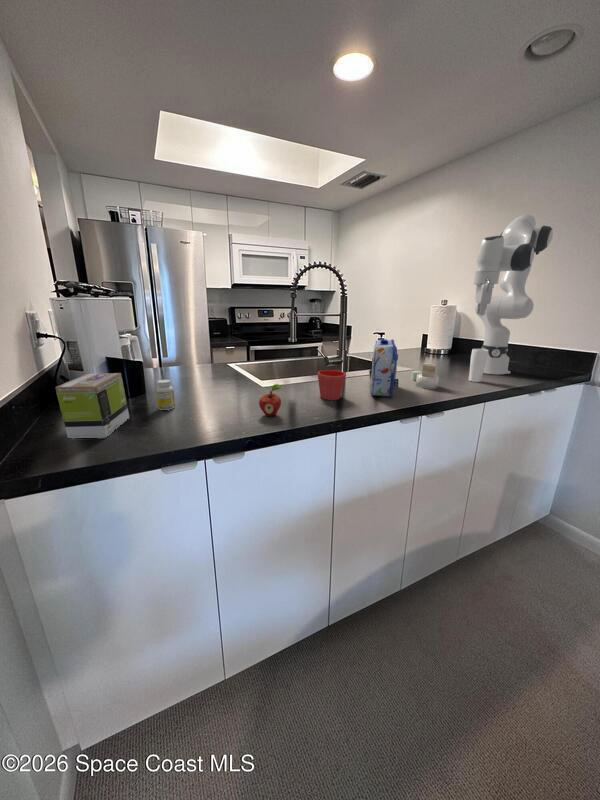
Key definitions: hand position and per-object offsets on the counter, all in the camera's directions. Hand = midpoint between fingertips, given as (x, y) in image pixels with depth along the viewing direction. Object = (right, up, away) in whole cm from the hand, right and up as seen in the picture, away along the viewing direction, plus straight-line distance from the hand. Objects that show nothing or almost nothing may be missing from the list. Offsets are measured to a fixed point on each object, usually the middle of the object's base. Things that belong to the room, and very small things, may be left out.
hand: (480, 314), depth 134 cm
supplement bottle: (-122, -39, -27) cm, 131 cm away
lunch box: (-43, -33, -3) cm, 54 cm away
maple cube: (-21, -26, +5) cm, 33 cm away
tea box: (-134, -45, -44) cm, 148 cm away
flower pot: (-65, -35, -12) cm, 75 cm away
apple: (-86, -41, -31) cm, 101 cm away
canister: (-21, -30, +6) cm, 37 cm away
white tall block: (+6, -28, +16) cm, 33 cm away
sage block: (-21, -27, +18) cm, 38 cm away
